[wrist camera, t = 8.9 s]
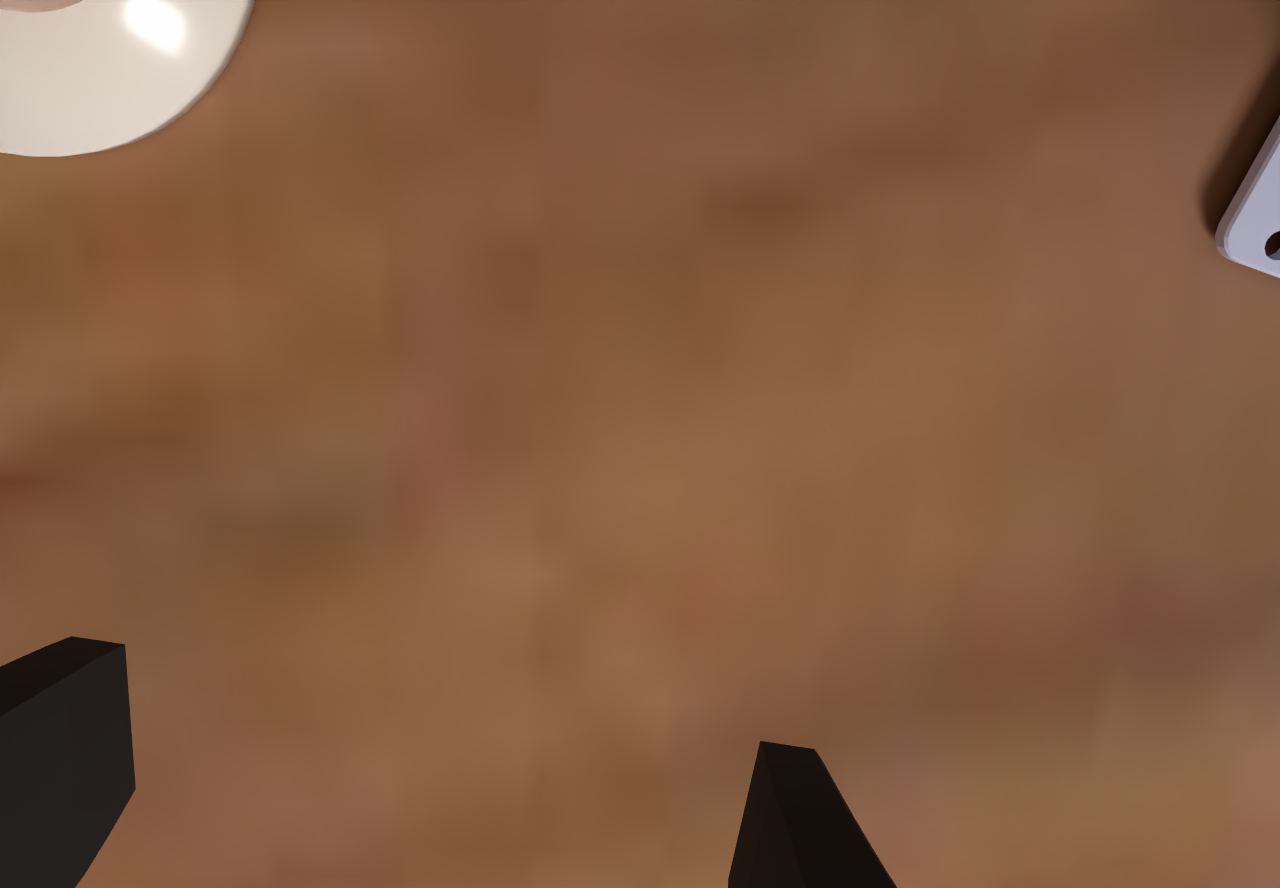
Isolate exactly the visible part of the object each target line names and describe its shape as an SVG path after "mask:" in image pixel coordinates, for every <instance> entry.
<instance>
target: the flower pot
mask: <svg viewBox="0 0 1280 888" xmlns="http://www.w3.org/2000/svg"><path fill="white" fill-rule="evenodd" d="M81 1H83V0H0V10H9V11H19V12H29V13H33V12H49V11H54V10H58V9H63V8H66V7H69V6H71V5H74V4H77V3H79V2H81Z"/></svg>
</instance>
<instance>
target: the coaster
mask: <svg viewBox="0 0 1280 888" xmlns="http://www.w3.org/2000/svg"><path fill="white" fill-rule="evenodd" d="M254 4H255V0H83V1H81V2H79V3H77V4H74V5H71V6H69V7H66V8H63V9H58V10H54V11H49V12H33V13H29V12H19V11H9V10H0V152H3V153H10V154H17V155H24V156H69V155H78V154H86V153H92V152H99V151H106V150H111V149H115V148H118V147H121V146H125V145H128V144H131V143H134V142H138V141H140V140H142V139H144V138H146V137H148V136H150V135H152V134H154V133H156V132H158V131H160V130H162V129H164V128H165V127H167V126H168V125H170V124H171V123H172V122H174V121H175V120H177V119H178V118H180V117H181V116H182V115H184V114H185V113H187V112H188V111H189V110H190V109H191V108H192V107H193V106H194V105H195V104H196V103H197V102H198V101H199V100H200V99H201V98H202V97H203V96H204V95H205V94H206V93H207V92H208V91H209V90H210V89H211V87H212V86H213V85H214V83H215V82H216V81H217V79H218V78H219V77H220V75H221V74H222V73H223V71H224V70H225V69H226V67H227V66H228V64H229V62H230V60H231V58H232V56H233V55H234V53H235V51H236V49H237V47H238V45H239V44H240V42H241V40H242V38H243V35H244V32H245V30H246V27H247V24H248V22H249V19H250V16H251V14H252V11H253V8H254Z"/></svg>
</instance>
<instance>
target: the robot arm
mask: <svg viewBox="0 0 1280 888" xmlns="http://www.w3.org/2000/svg"><path fill="white" fill-rule="evenodd" d="M1278 231H1280V116H1279V118H1278V119H1277V121H1276V123H1275V125H1274V127H1273V128H1272V130H1271V132H1270V134H1269V136H1268V137H1267V139H1266V141H1265V143H1264V144H1263V146H1262V148H1261V150H1260V152H1259V153H1258V155H1257V157H1256V159H1255V160H1254V162H1253V164H1252V166H1251V168H1250V169H1249V171H1248V173H1247V175H1246V176H1245V178H1244V180H1243V182H1242V184H1241V185H1240V187H1239V189H1238V191H1237V192H1236V194H1235V196H1234V198H1233V200H1232V201H1231V203H1230V205H1229V207H1228V208H1227V210H1226V212H1225V214H1224V216H1223V217H1222V219H1221V221H1220V223H1219V225H1218V228H1217V230H1216V233H1215V244H1216V247H1217V249H1218V251H1219V252H1220V254H1221V255H1223V256H1224V257H1226V258H1227V259H1229V260H1231V261H1234V262H1237V263H1240V264H1242V265H1245V266H1248V267H1251V268H1253V269H1256V270H1259V271H1262V272H1264V273H1267V274H1270V275H1273V276H1275V277H1278V278H1280V248H1279V249H1278V251H1277V252H1276V253H1274V254H1272V255H1270V256H1266V253H1265V249H1264V248H1265V244H1266V241H1267V240H1268V238H1269V237H1270V236H1271V235H1272V234H1273V233H1276V232H1278ZM135 789H136V788H135V774H134V760H133V747H132V733H131V720H130V706H129V693H128V679H127V666H126V652H125V644H119V643H112V642H106V641H99V640H92V639H86V638H79V637H73V636H71V637H69V638H66V639H64V640H61V641H58V642H56V643H53V644H51V645H48V646H46V647H44V648H41V649H39V650H37V651H34V652H32V653H30V654H28V655H25V656H23V657H21V658H19V659H16V660H14V661H12V662H10V663H8V664H5V665H3V666H1V667H0V888H75V887H76V885H77V884H78V883H79V881H80V880H81V879H82V877H83V876H84V875H85V873H86V871H87V870H88V868H89V867H90V865H91V863H92V862H93V860H94V858H95V857H96V855H97V854H98V852H99V850H100V849H101V847H102V846H103V844H104V842H105V841H106V839H107V837H108V836H109V834H110V832H111V831H112V829H113V827H114V825H115V824H116V822H117V820H118V819H119V817H120V815H121V813H122V812H123V810H124V808H125V806H126V805H127V803H128V801H129V799H130V798H131V796H132V794H133V792H134V791H135ZM728 888H897V887H896V885H895V884H894V882H893V880H892V879H891V877H890V876H889V874H888V873H887V871H886V870H885V868H884V866H883V865H882V863H881V861H880V860H879V858H878V857H877V855H876V853H875V852H874V850H873V848H872V847H871V845H870V843H869V842H868V840H867V838H866V837H865V835H864V833H863V831H862V830H861V828H860V826H859V825H858V823H857V821H856V820H855V818H854V816H853V814H852V813H851V811H850V809H849V807H848V806H847V804H846V802H845V800H844V799H843V797H842V795H841V793H840V792H839V790H838V788H837V786H836V784H835V783H834V781H833V779H832V777H831V775H830V774H829V772H828V770H827V768H826V766H825V765H824V763H823V761H822V759H821V758H820V756H819V755H818V754H817V752H816V751H815V749H810V748H803V747H797V746H790V745H784V744H777V743H770V742H764V741H760V745H759V749H758V753H757V758H756V762H755V766H754V770H753V775H752V779H751V783H750V788H749V792H748V796H747V801H746V805H745V809H744V814H743V818H742V822H741V827H740V831H739V835H738V840H737V844H736V848H735V853H734V857H733V861H732V865H731V870H730V874H729V878H728Z"/></svg>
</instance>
